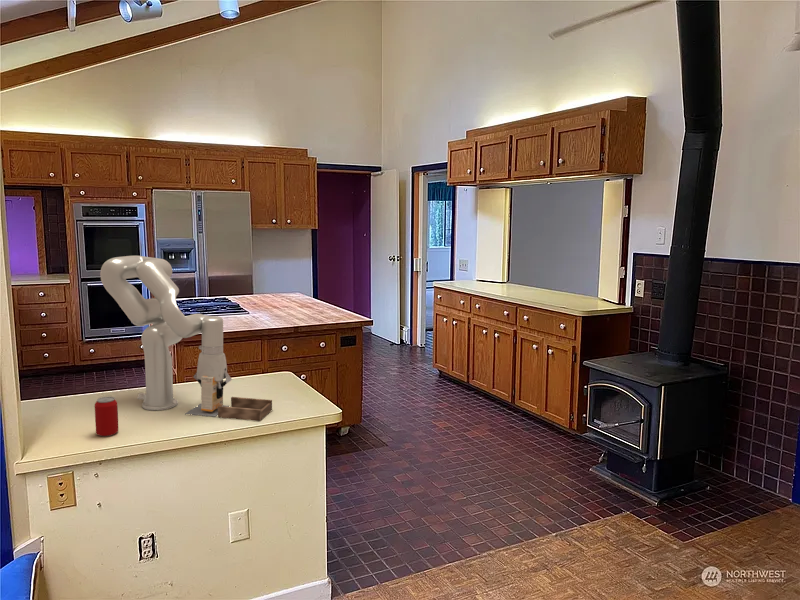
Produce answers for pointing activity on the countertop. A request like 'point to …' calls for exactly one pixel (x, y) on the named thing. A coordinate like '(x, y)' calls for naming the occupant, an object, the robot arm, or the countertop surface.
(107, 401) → the beverage can
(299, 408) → the countertop surface
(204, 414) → the mat
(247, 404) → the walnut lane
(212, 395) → the supplement box
